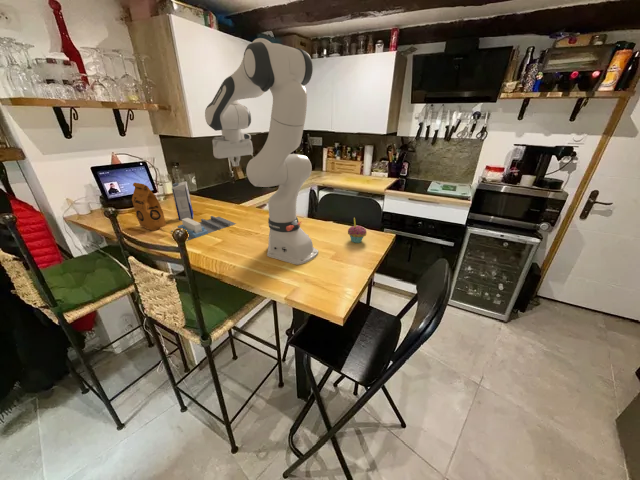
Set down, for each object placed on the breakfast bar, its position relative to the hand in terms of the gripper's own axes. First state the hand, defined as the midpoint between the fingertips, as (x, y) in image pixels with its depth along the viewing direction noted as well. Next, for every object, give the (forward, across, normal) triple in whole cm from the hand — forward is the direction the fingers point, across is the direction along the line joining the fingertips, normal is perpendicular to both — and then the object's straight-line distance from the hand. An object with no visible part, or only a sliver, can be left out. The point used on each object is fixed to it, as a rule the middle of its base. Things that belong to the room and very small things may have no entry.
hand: (235, 165), depth 128 cm
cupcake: (+29, +19, -60) cm, 69 cm away
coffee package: (+29, -34, +27) cm, 52 cm away
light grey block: (+28, -25, +5) cm, 38 cm away
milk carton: (+29, -18, +25) cm, 42 cm away
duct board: (+29, -19, +5) cm, 35 cm away
